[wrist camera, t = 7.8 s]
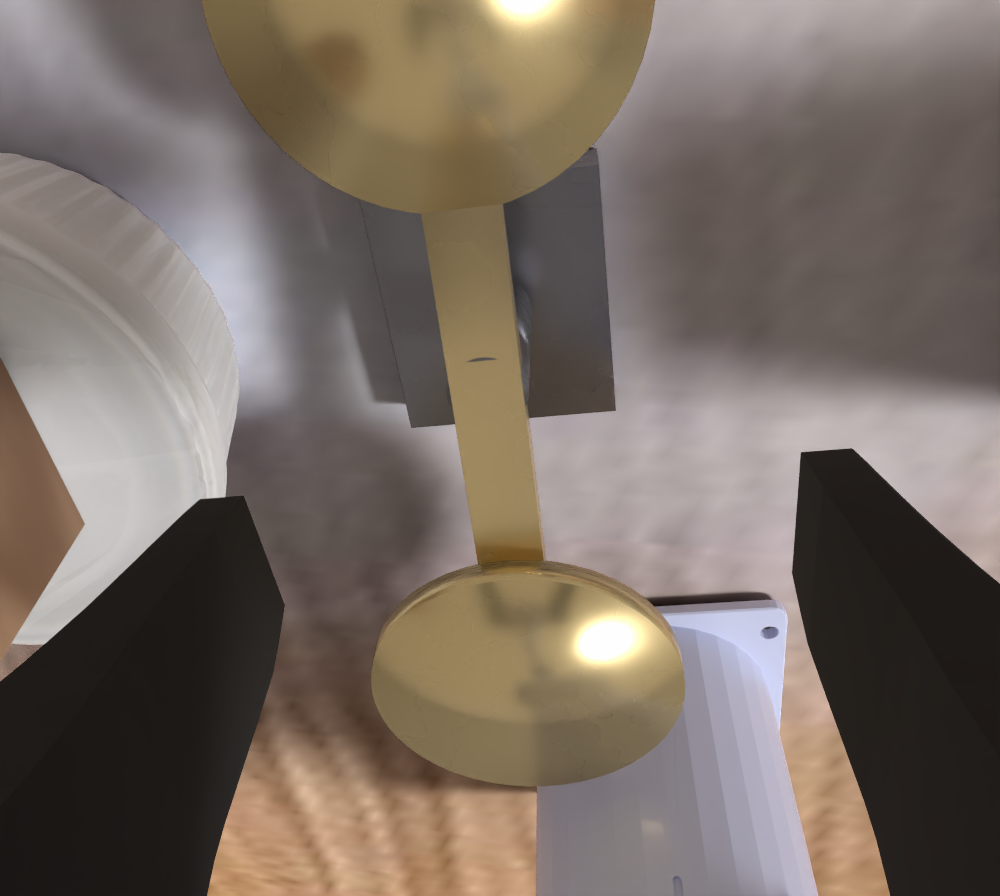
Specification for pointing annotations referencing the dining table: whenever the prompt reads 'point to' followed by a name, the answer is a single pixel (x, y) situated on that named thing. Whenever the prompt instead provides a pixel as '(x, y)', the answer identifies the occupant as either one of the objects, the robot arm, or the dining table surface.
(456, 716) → the balance
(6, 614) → the block
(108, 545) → the ramekin
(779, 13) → the dining table surface
